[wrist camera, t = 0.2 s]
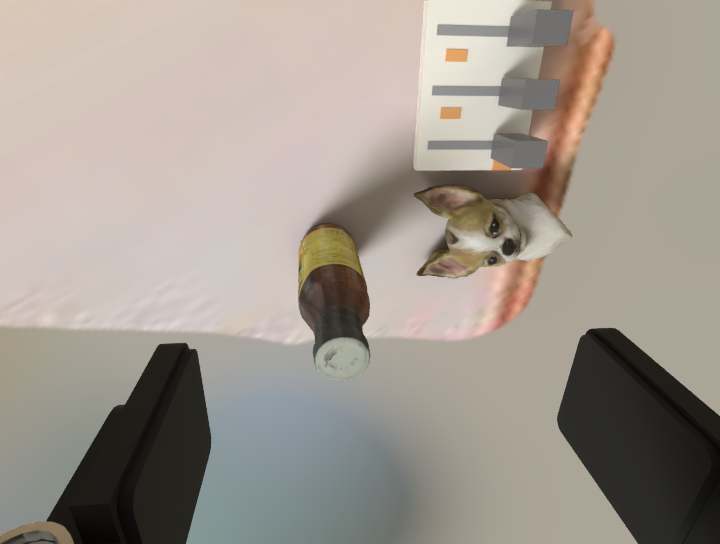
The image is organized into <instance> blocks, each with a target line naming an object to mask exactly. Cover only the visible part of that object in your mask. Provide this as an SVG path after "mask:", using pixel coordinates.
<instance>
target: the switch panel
mask: <svg viewBox="0 0 720 544" xmlns="http://www.w3.org/2000/svg"><path fill="white" fill-rule="evenodd" d="M551 5H552V1H532V0H424V11H423V26H422V41H421V55H420V70H419V85H418V99H417V114H416V129H415V144H414V158H413V168H414V169H415V170H416V171H441V170H522V169H523V168H509V167H507V166H505V165H503V164H501V163H499V162H497V161H495V160H493V159H491V151H492V144H493V137H494V133H504V134H526V135H529V129H530V124H531V118H532V112H533V110H519V109H514V108H509V107H504V106H499V105H498V102H499V95H500V88H501V81H502V78H533V79H538V78H539V73H540V67H541V61H542V56H543V50H544V47H506V46H507V39H508V32H509V25H510V18H511V16H514V15H518V14H521V13H525V12H529V11H533V10H537V9H545V10H551Z"/></svg>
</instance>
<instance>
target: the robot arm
mask: <svg viewBox="0 0 720 544" xmlns="http://www.w3.org/2000/svg"><path fill="white" fill-rule="evenodd" d="M557 421H558V426H559V429H560V431H561V432H562V434H563V435H564V437H565V438H566V440H567V441H568V442H569V444H570V445H571V447H572V448H573V450H574V451H575V453H576V454H577V455H578V457H579V459H580V460H581V461H582V463H583V464H584V466H585V467H586V469H587V470H588V472H589V473H590V474H591V476H592V477H593V479H594V480H595V482H596V483H597V484H598V486H599V488H600V489H601V490H602V492H603V493H604V495H605V496H606V498H607V499H608V501H609V502H610V503H611V505H612V506H613V508H614V509H615V511H616V512H617V513H618V515H619V517H620V518H621V519H622V521H623V522H624V524H625V525H626V527H627V528H628V530H629V531H630V532H631V534H632V535H633V537H634V538H635V540H636V541H637V543H638V544H720V416H719V415H718V414H717V413H715V412H714V411H713V410H712V409H710V408H709V407H708V406H707V405H706V404H705V403H704V402H702V401H701V400H700V399H699V398H698V397H696V396H695V395H694V394H693V393H692V392H691V391H689V390H688V389H687V388H686V387H685V386H684V385H682V384H681V383H680V382H679V381H678V380H676V379H675V378H674V377H673V376H672V375H671V374H669V373H668V372H667V371H666V370H665V369H664V368H662V367H661V366H660V365H659V364H658V363H656V362H655V361H654V360H653V359H652V358H651V357H649V356H648V355H647V354H646V353H645V352H643V351H642V350H641V349H640V348H639V347H638V346H636V345H635V344H634V343H633V342H632V341H630V340H629V339H628V338H627V337H626V336H624V335H623V334H622V333H621V332H620V331H618V330H617V329H615V328H597V329H590V330H588V331H587V332H586V334H585V335H583V336H582V337H581V338H580V341H579V344H578V347H577V351H576V354H575V358H574V361H573V364H572V368H571V371H570V375H569V378H568V381H567V385H566V389H565V392H564V395H563V399H562V402H561V405H560V409H559V412H558V417H557ZM210 449H211V433H210V427H209V421H208V415H207V408H206V402H205V397H204V390H203V384H202V378H201V372H200V365H199V359H198V354H197V351H196V349H189V347H188V345H187V344H186V343H173V344H160V345H158V347H157V348H156V350H155V352H154V354H153V356H152V357H151V359H150V361H149V363H148V365H147V366H146V368H145V370H144V372H143V373H142V376H141V377H140V379H139V381H138V383H137V384H136V386H135V388H134V390H133V392H132V393H131V395H130V397H129V399H128V400H127V402H126V404H125V405H118V406H116V407H114V408H113V410H112V411H111V412H110V414H109V415H108V417H107V419H106V420H105V422H104V424H103V426H102V427H101V429H100V431H99V432H98V434H97V436H96V438H95V439H94V441H93V443H92V444H91V446H90V448H89V449H88V451H87V453H86V454H85V456H84V458H83V460H82V461H81V463H80V465H79V466H78V468H77V470H76V471H75V473H74V475H73V477H72V478H71V480H70V482H69V484H68V485H67V487H66V488H65V490H64V492H63V494H62V495H61V497H60V499H59V501H58V502H57V504H56V505H55V507H54V509H53V511H52V512H51V514H50V516H49V517H48V519H47V521H46V522H35V523H31V524H27V525H23V526H20V527H18V528H16V529H13V530H11V531H9V532H7V533H5V534H3V535H1V536H0V544H186V541H187V537H188V533H189V530H190V526H191V522H192V518H193V514H194V511H195V507H196V503H197V499H198V496H199V492H200V488H201V484H202V481H203V476H204V473H205V469H206V465H207V462H208V458H209V454H210Z"/></svg>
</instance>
